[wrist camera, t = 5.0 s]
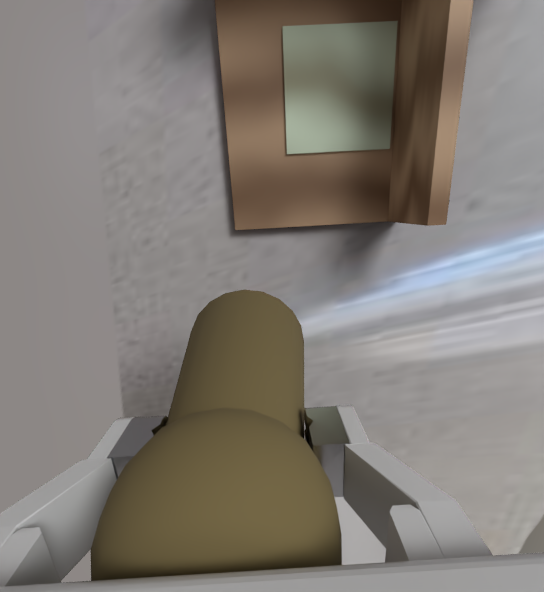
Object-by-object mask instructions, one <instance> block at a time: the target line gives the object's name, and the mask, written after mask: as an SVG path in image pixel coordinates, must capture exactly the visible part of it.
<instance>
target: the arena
mask: <svg viewBox="0 0 544 592" xmlns="http://www.w3.org/2000/svg"><path fill="white" fill-rule="evenodd" d="M472 8H473V0H215V9H216V20H217V31H218V42H219V54H220V65H221V76H222V87H223V98H224V109H225V121H226V132H227V143H228V154H229V165H230V177H231V188H232V199H233V210H234V221H235V230H246V229H264V228H281V227H299V226H316V225H334V224H351V223H368V222H386V221H389V222H399V223H408V224H418V225H445V224H446V221H447V213H448V205H449V196H450V188H451V180H452V172H453V164H454V155H455V147H456V139H457V131H458V123H459V114H460V106H461V98H462V90H463V82H464V73H465V65H466V57H467V49H468V41H469V32H470V24H471V16H472Z"/></svg>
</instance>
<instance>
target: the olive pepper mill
mask: <svg viewBox="0 0 544 592" xmlns="http://www.w3.org/2000/svg"><path fill="white" fill-rule="evenodd" d="M335 565H342V538H341V529H340V523H339V517H338V511H337V506H336V502H335V498H334V494H333V490H332V486H331V483H330V480H329V478H328V477H327V475H326V473H325V471H324V469H323V467H322V466H321V464H320V462H319V460H318V459H317V457H316V456H315V454H314V453H313V451H312V449H311V448H310V446H309V445H308V443H307V442H306V440H305V439H304V340H303V334H302V329H301V325H300V323H299V321H298V320H297V318H296V316H295V314H294V313H293V311H292V310H291V309H290V308H289V307H288V306H286V305H285V304H284V303H283V302H282V301H281V300H280V299H278V298H276V297H273V296H271V295H269V294H266V293H264V292H260V291H251V290H240V291H235V292H230V293H225V294H223V295H222V296H220V297H218V298H216V299H214V300H213V301H211V302H209V303H208V305H207V306H206V307H205V308H204V309H203V310H202V311H201V312H200V313H199V314H198V316H197V319H196V321H195V323H194V326H193V328H192V331H191V334H190V338H189V342H188V346H187V349H186V353H185V357H184V360H183V364H182V368H181V371H180V375H179V379H178V382H177V386H176V390H175V393H174V397H173V401H172V404H171V408H170V412H169V415H168V420H167V423H166V426H164V427H162V428H161V429H160V430H159V431H158V432H157V433H156V434H155V435H154V436H153V437H152V438H151V439H150V440H149V441H148V442H147V443H146V444H145V445H144V446H143V447H142V448H141V449H140V450H139V451H138V452H137V454H136V455H135V456H134V457H133V458H132V459H131V460H130V461H129V462H128V463H127V464H126V465H125V467H124V468H123V470H122V472H121V474H120V475H119V477H118V479H117V481H116V482H115V484H114V486H113V488H112V489H111V491H110V494H109V496H108V499H107V501H106V504H105V506H104V509H103V511H102V514H101V516H100V519H99V522H98V526H97V529H96V533H95V536H94V540H93V543H92V547H91V581H98V580H114V579H130V578H146V577H162V576H178V575H194V574H210V573H226V572H242V571H258V570H273V569H289V568H304V567H320V566H335Z"/></svg>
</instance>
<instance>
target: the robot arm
mask: <svg viewBox="0 0 544 592" xmlns="http://www.w3.org/2000/svg"><path fill="white" fill-rule="evenodd" d="M167 420H168V417H166V416H152V417H135V418H134V417H129V418H118V419H116V420H115V421H114V422H113V424H112V425H111V426H110V428H109V429H108V431H107V432H106V433H105V435H104V436H103V438H102V439H101V441H100V442H99V443H98V445H97V446H96V447H95V449H94V450H93V451H92V453H91V454H90V455H89V457H88V458H87V460H81V461H79V462H77V463H76V464H74V465H73V466H71V467H70V468H68V469H67V470H65V471H64V472H62V473H61V474H59V475H58V476H56V477H55V478H53V479H52V480H50V481H49V482H47V483H46V484H44V485H42V486H41V487H40V488H38V489H36V490H35V491H33V492H32V493H30V494H29V495H27V496H26V497H24V498H23V499H21V500H20V501H18V502H16V503H15V504H13V505H12V506H10V507H9V508H7V509H6V510H4V511H3V512H1V513H0V592H544V552H542V553H527V554H510V555H494V556H493V555H492V553H491V552H490V550H489V549H488V547H487V546H486V544H485V543H484V541H483V540H482V538H481V537H480V535H479V534H478V532H477V531H476V529H475V528H474V526H473V525H472V523H471V522H470V520H469V518H468V517H467V515H466V514H465V512H464V511H463V509H462V508H461V506H460V505H459V503H458V502H457V500H455V499H454V498H452V497H451V496H450V495H448V494H447V493H445V492H444V491H443V490H441V489H440V488H438V487H437V486H435V485H434V484H433V483H431V482H430V481H428V480H427V479H426V478H424V477H423V476H421V475H420V474H419V473H417V472H416V471H414V470H413V469H411V468H410V467H409V466H407V465H406V464H404V463H403V462H402V461H400V460H399V459H397V458H396V457H395V456H393V455H392V454H390V453H389V452H387V451H386V450H385V449H383V448H382V447H380V446H379V445H378V444H376V443H370V442H369V440H368V437H367V435H366V433H365V431H364V429H363V427H362V424H361V422H360V420H359V418H358V416H357V414H356V411H355V409H354V407H353V406H352V405H351V404H348V405H337V406H330V407H314V408H304V420H305V426H306V429H305V440H306V442H307V443H308V445H309V446H310V448H311V449H312V451H313V453H314V454H315V456H316V457H317V459H318V460H319V462H320V464H321V466H322V467H323V469H324V471H325V473H326V475H327V477H328V478H329V480H330V483H331V486H332V490H333V494H334V498H335V502H336V506H337V511H338V517H339V523H340V529H341V538H342V565H335V566H320V567H304V568H289V569H273V570H258V571H242V572H226V573H210V574H194V575H178V576H162V577H146V578H130V579H114V580H98V581H82V582H66V583H61V580H62V579H63V578H64V577H65V576H66V575H67V574H68V573H69V572H70V571H71V569H72V568H73V567H74V566H75V565H76V564H77V563H78V562H79V561H80V560H81V559H82V558H83V557H84V556H85V555H86V554H87V552H88V551H89V550H90V549H91V547H92V543H93V540H94V536H95V533H96V529H97V526H98V522H99V519H100V516H101V514H102V511H103V509H104V506H105V504H106V501H107V499H108V496H109V494H110V491H111V489H112V488H113V486H114V484H115V482H116V481H117V479H118V477H119V475H120V474H121V472H122V470H123V468H124V467H125V465H126V464H127V463H128V462H129V461H130V460H131V459H132V458H133V457H134V456H135V455H136V454H137V452H138V451H139V450H140V449H141V448H142V447H143V446H144V445H145V444H146V443H147V442H148V441H149V440H150V439H151V438H152V437H153V436H154V435H155V434H156V433H157V432H158V431H159V430H160V429H161V428H162V427H164V426H166V423H167Z"/></svg>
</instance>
